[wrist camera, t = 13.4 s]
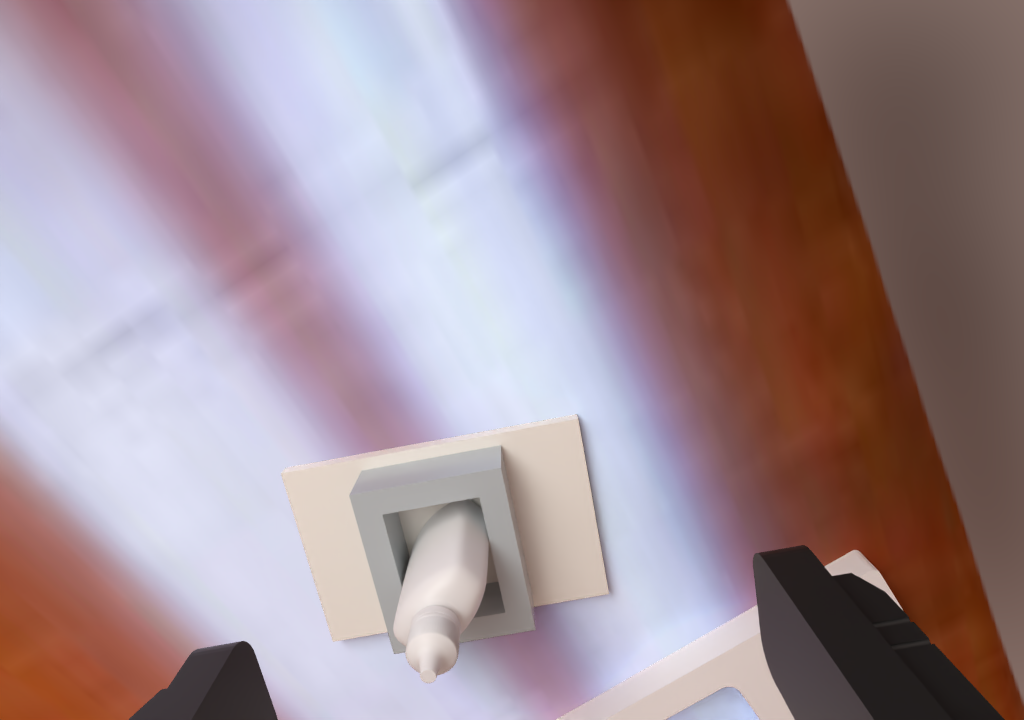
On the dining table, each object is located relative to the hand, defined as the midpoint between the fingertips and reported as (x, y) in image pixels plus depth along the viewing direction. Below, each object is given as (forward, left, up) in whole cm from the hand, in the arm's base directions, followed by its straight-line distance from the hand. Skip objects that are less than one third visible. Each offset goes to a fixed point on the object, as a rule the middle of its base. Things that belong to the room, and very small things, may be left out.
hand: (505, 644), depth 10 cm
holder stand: (+13, -6, -28) cm, 32 cm away
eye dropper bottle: (+13, -6, -28) cm, 31 cm away
